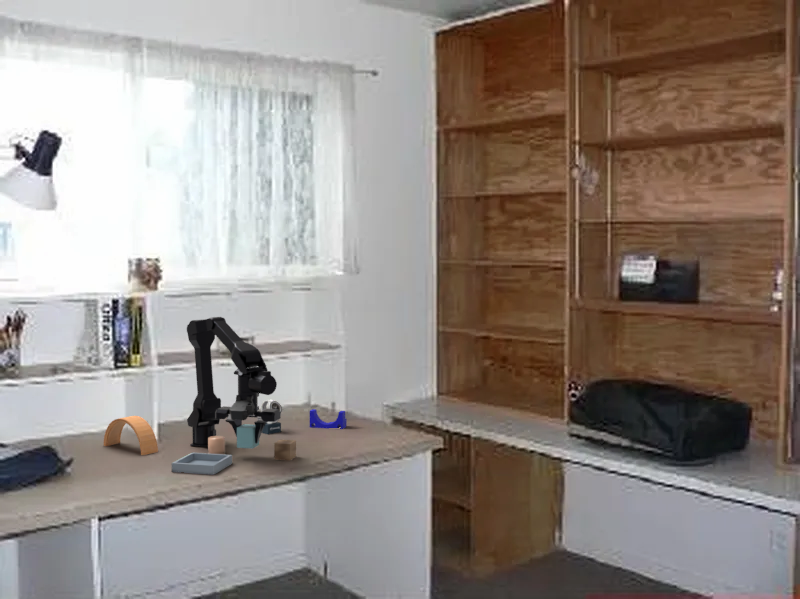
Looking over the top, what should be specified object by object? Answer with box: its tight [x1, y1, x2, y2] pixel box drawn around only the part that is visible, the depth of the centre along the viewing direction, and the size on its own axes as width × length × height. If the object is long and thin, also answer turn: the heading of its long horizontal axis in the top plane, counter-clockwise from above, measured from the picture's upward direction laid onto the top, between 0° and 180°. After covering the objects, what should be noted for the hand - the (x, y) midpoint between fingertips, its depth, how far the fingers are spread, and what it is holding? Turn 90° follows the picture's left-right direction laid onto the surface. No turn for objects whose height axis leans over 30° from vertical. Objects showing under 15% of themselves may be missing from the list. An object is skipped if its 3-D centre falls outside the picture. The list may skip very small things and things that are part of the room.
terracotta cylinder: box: [207, 435, 226, 455], centre depth 264 cm, size 5×5×5 cm
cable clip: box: [309, 408, 348, 430], centre depth 303 cm, size 12×4×6 cm, turn 77°
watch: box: [260, 399, 283, 435], centre depth 294 cm, size 6×8×11 cm
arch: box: [103, 415, 159, 456], centre depth 270 cm, size 6×20×10 cm, turn 52°
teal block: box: [236, 423, 260, 449], centre depth 260 cm, size 5×5×6 cm
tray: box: [171, 452, 233, 476], centre depth 248 cm, size 13×13×2 cm
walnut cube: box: [273, 439, 297, 462], centre depth 259 cm, size 5×5×5 cm
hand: (248, 442), depth 260 cm, fingers closed on teal block, 5 cm apart
